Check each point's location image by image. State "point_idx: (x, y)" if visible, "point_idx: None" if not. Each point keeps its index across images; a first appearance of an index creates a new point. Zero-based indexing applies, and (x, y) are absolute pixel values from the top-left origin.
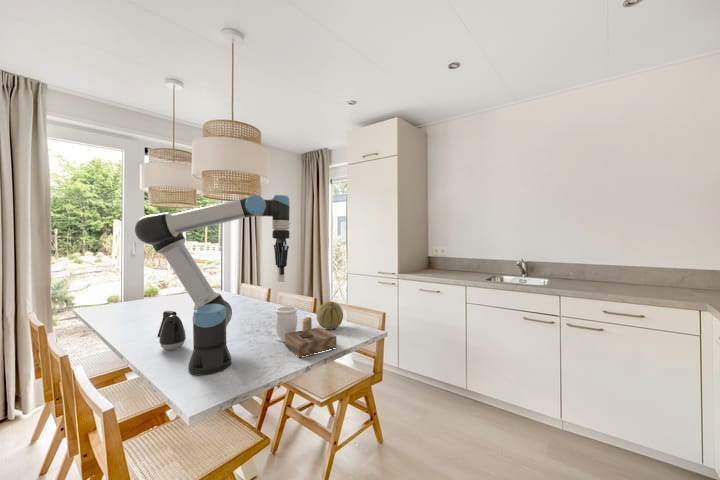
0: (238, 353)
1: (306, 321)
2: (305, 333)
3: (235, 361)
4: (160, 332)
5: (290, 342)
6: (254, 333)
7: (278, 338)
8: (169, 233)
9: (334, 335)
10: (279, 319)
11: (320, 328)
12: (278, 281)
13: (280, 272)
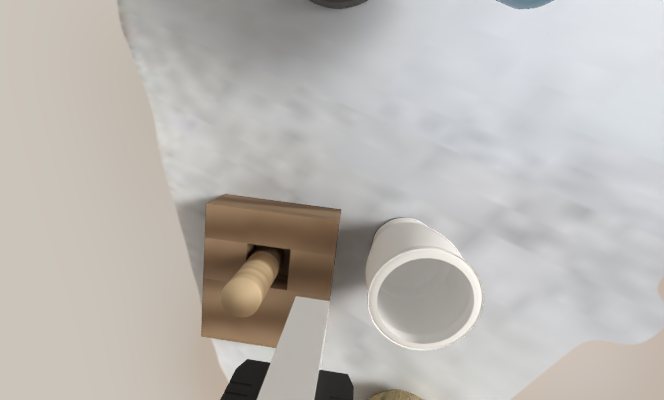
0: (390, 57)
1: (227, 283)
2: (247, 260)
3: (329, 23)
4: None
5: (288, 210)
6: (555, 187)
7: (411, 221)
8: None
9: (210, 335)
10: (400, 240)
11: None
12: (299, 299)
13: (251, 383)
